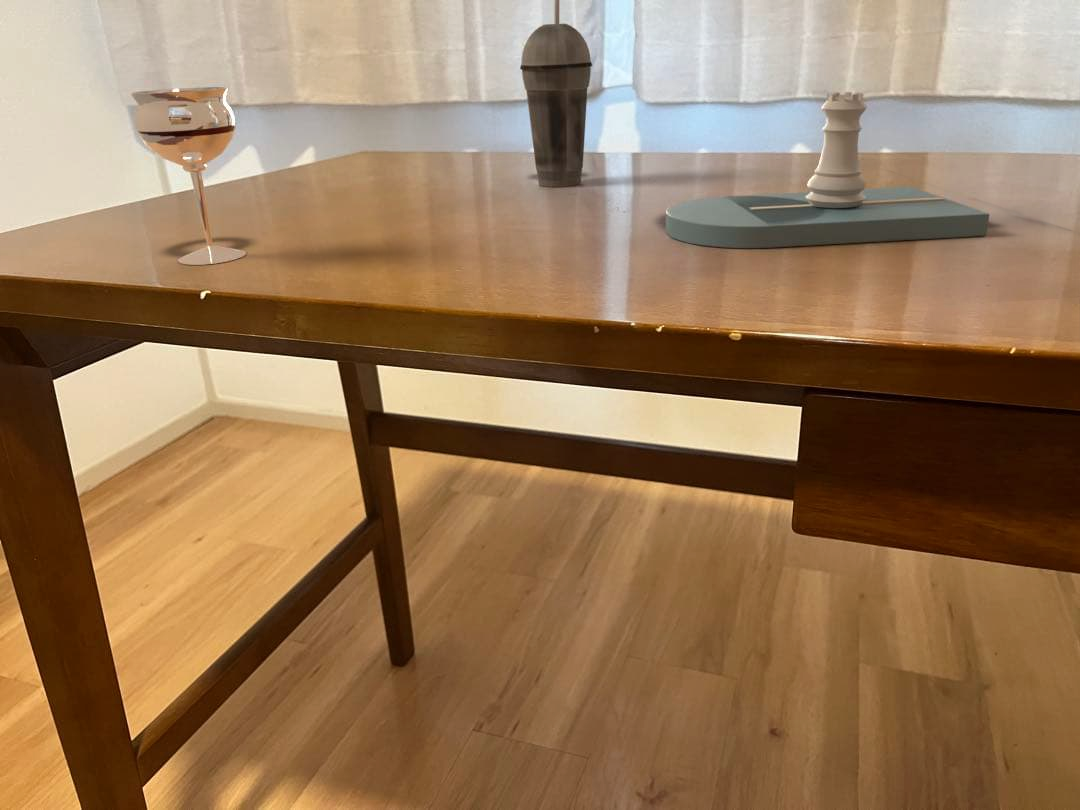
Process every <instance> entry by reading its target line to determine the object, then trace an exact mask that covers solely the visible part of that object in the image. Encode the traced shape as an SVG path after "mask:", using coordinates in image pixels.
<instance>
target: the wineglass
mask: <svg viewBox="0 0 1080 810" xmlns="http://www.w3.org/2000/svg"><path fill="white" fill-rule="evenodd" d="M228 90H229V87H228V86H205V87H204V86H203V87H201V86H200V87H183V88H168V89H166V88H165V89H153V90H151V89H150V90H142V91H141V90H140V91H132V92H129V93H128V94H129V96H130V97H131V99H132V100H133V101H134V102H135V104H136V105H137V106H136V107H137V108H136V110H135V112H134V127H135V128H136V131H137V133H138V134H137V135H138V136H139V137H140V139H141V140H142V142H143V144H144V145H145V147H147V148H149V149H150V150H151V151H153V152H154V153H155V154H156V155H158V156H159V157H160V158H162V159H163V160H166V161H169V162H171V163H174V164H177V165H179V166H182V170H183V171H184V172H186V173H189V174H190V178H191V182H192V186H193V190H194V195H195V199H196V204H197V208H198V212H199V216H200V220H201V224H202V229H203V233H204V237H205V241H206V246H204V247H202V248H199V249H197V250H195V251H192V252H190V253H187V254H185V255H182V256H181V257H180V258H178V260H177V262H178V263H179V264H183V265H188V266H189V265H192V266H202V265H203V266H204V265H215V264H219V263H221V264H222V263H226V262H231V261H235V260H238V259H240V258H243V257H244V256H246V254H247V252H246V251H245V250H242V249H237V248H233V247H225V246H219V245H214V244H213V237H212V233H211V232H212V231H211V224H210V219H209V218H210V217H209V211H208V206H207V205H208V204H207V199H206V191H205V186H204V179H203V173H202V172H203V171H206V169H207V167H208V165H207V164H209V163H210V162H212V161H213V160H214V159H216V158H217V157H219V156H220V155H222V154H223V153H224V151H225V150H226V148H227V147H228V145H229V144H230V143H231V142H232V140H233V139H234V135H235V130H236V126H237V125H236V124H237V122H236V116H235V113H234V111H233V108H232V107H231V105H230V104H229V103H228V102H227V100H226V98H227V93H228Z"/></svg>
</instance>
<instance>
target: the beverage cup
mask: <svg viewBox="0 0 1080 810" xmlns="http://www.w3.org/2000/svg"><path fill="white" fill-rule="evenodd" d="M553 1H554V2H553V3H554V5H553V6H554V7H553V8H554V10H553V19H554V20H553V21H554V22H553V23H548V24H547V23H546V24H542V25H540V26H538V27H537V28H536V29H535V30H534V31H533V32H532V33H531V34H530V35H529V37H528V38H527V39H526V42H525V44H524V46H523V49H522V54H521V63H520V67H519V70H521V76H522V81H523V86H524V90H526V91H525V92H526V99H527V107H528V115H529V122H530V130H531V139H532V148H533V154H534V163H535V169H536V173H537V179H538V186H540V187H548V188H564V187H573V186H577V185H581V184H582V176H583V175H582V174H583V166H584V154H585V153H584V152H585V136H586V135H585V134H586V119H587V103H588V88H589V87H590V80H591V75H592V74H591V73H592V72H591V71H592V67H593V63H592V60H591V53H590V49H589V46H588V44H587V41H586V40H585V38H584V36H583V35H582V34H581V32H579V31H578V30H577V28H575V27H573V25H571V24H567V23H560V0H553Z"/></svg>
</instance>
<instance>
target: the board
mask: <svg viewBox="0 0 1080 810" xmlns="http://www.w3.org/2000/svg"><path fill="white" fill-rule="evenodd" d="M811 192H812V191H804V192H785V193H783V192H782V193H767V194H766V193H765V194H749V195H748V194H747V195H728V196H714V197H712V196H711V197H704V198H697V199H691V200H685V201H681V202H678V203H675V204H672V205H671V206H669V207H668V208H667V209H666V210H665V233H666V234H667V236H668V237H670V238H672V239H674V240H677V241H680V242H683V243H687V244H692V245H697V246H703V247H710V248H722V249H725V248H726V249H774V248H788V247H789V248H790V247H793V248H795V247H810V246H811V247H812V246H824V245H825V246H827V245H828V246H829V245H843V244H844V245H845V244H862V243H879V242H881V243H882V242H898V241H899V242H901V241H918V240H919V241H920V240H934V239H935V240H936V239H937V240H938V239H952V238H970V237H973V238H974V237H986V236H987V231H988V226H989V220H990V213H988V212H985V211H983V210H979V209H977V208H974V207H971V206H968V205H965V204H963V203H959V202H957V201H954V200H951V199H948V198H945V197H942V196H940V195H936V194H934V193H931V192H928V191H926V190H922V189H920V188H917V187H914V186H897V187H879V188H864V189H863V190H862V191H861V193H862V194H863V195H864V196H865V197H866V198H865V200H864V201H863V202H862V203H861V204H860V205H859V206H856V207H849V208H824V207H816V206H813V205H811V204H810V203H809V202H808V200H807V199H806V196H807V195H808V194H809V193H811Z"/></svg>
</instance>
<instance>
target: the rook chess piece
mask: <svg viewBox="0 0 1080 810" xmlns="http://www.w3.org/2000/svg"><path fill="white" fill-rule="evenodd" d="M867 108H868V105H867V103H866V102H865V101H864V93H863V92H854V93H853V92H852V91H848V92H847V91H845V92H844V94H840V92H832V93H831V92H829V93H827V94H826V100H825V102H824V103H823V104H822V106H821V107H820V110H821V111H822V113H823V114H824V116H825V124H824V126H823V127H822V128H821V130H822V131H823V133H824V134H823V135H824V136H823V144H822V148H821V153H820V157H819V158H820V159H819V161H818V164H817V167H816V168H815V169H814V174H813V175H812V176H811V178H809V180H808V181H807V185H806V186H807V187H808V189H809V190H810V192H811V193H809V194H808V195H807V196H806V199H807V200H808V202H809V203H810V204H811V205H813V206H816V207H824V208H849V207H856V206H859V205H860V204H861V203H862V202H863V201H864V200H865V198H866V197H865V196H864V195H863V194H862V193H861V191H862V190H863V189H866V187H867V181H866V179H865V178H864V177H863V175H862V172H863V170H862V169H861V168H860V161H859V134H860V132H861V131H862V130H863V127H862V126H861V124H860V120H861V117H862V115H864V112H865V111H866V110H867Z"/></svg>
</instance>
